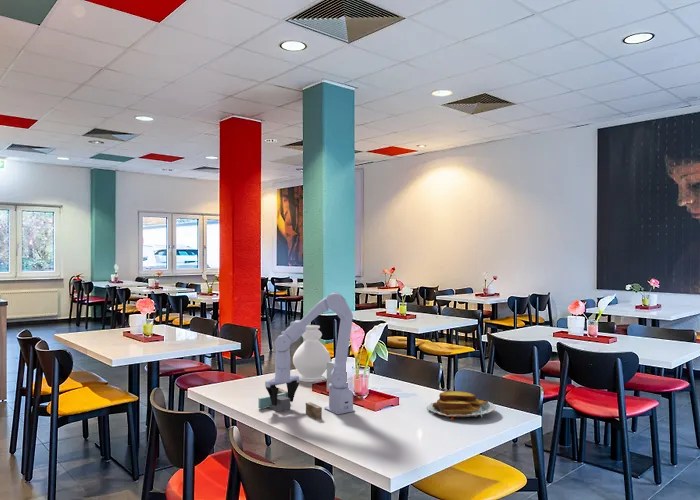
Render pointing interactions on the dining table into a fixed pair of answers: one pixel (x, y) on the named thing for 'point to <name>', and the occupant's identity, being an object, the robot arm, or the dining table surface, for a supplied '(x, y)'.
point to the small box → (329, 368)
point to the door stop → (282, 404)
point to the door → (268, 400)
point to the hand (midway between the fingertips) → (282, 403)
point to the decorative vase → (311, 356)
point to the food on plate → (460, 405)
